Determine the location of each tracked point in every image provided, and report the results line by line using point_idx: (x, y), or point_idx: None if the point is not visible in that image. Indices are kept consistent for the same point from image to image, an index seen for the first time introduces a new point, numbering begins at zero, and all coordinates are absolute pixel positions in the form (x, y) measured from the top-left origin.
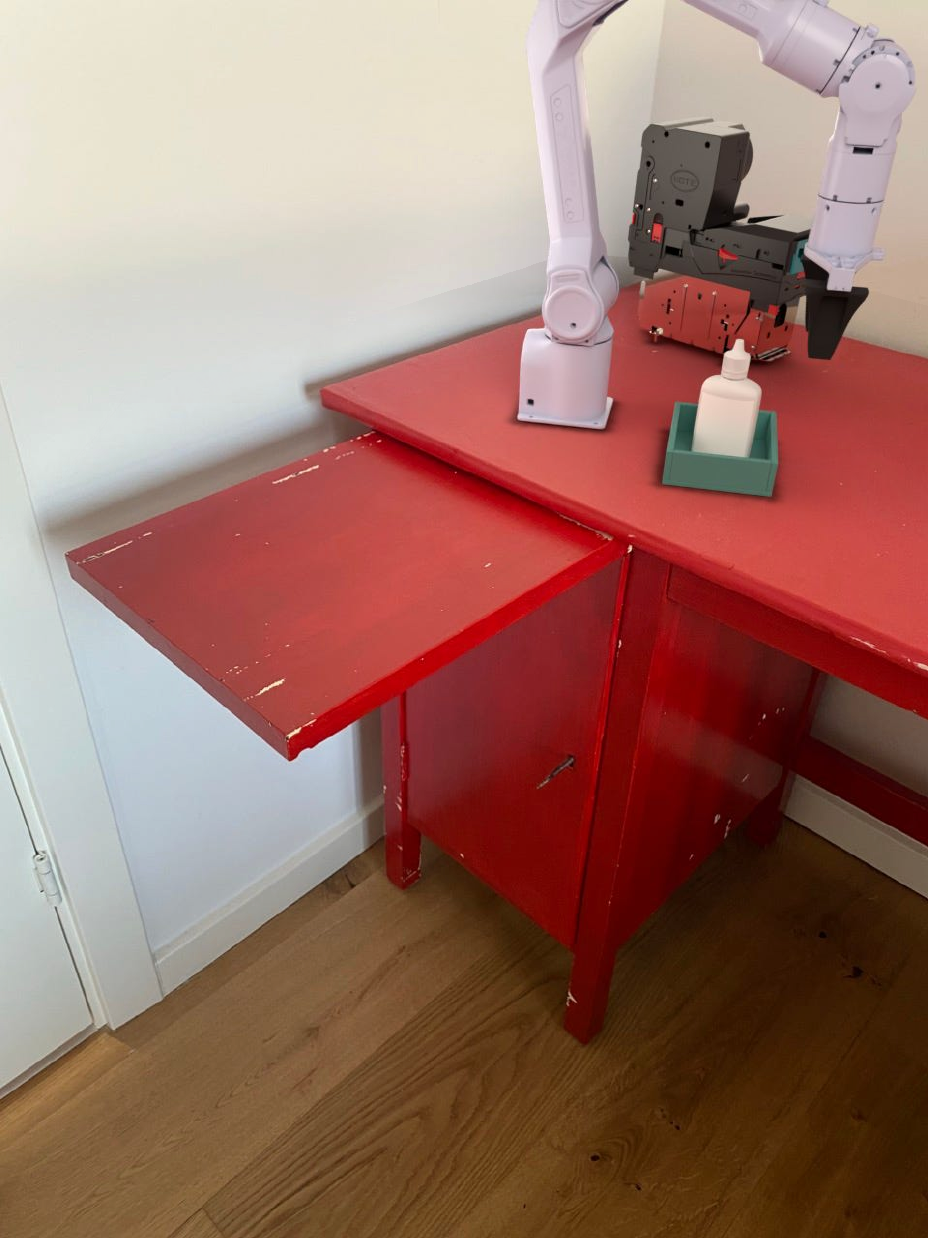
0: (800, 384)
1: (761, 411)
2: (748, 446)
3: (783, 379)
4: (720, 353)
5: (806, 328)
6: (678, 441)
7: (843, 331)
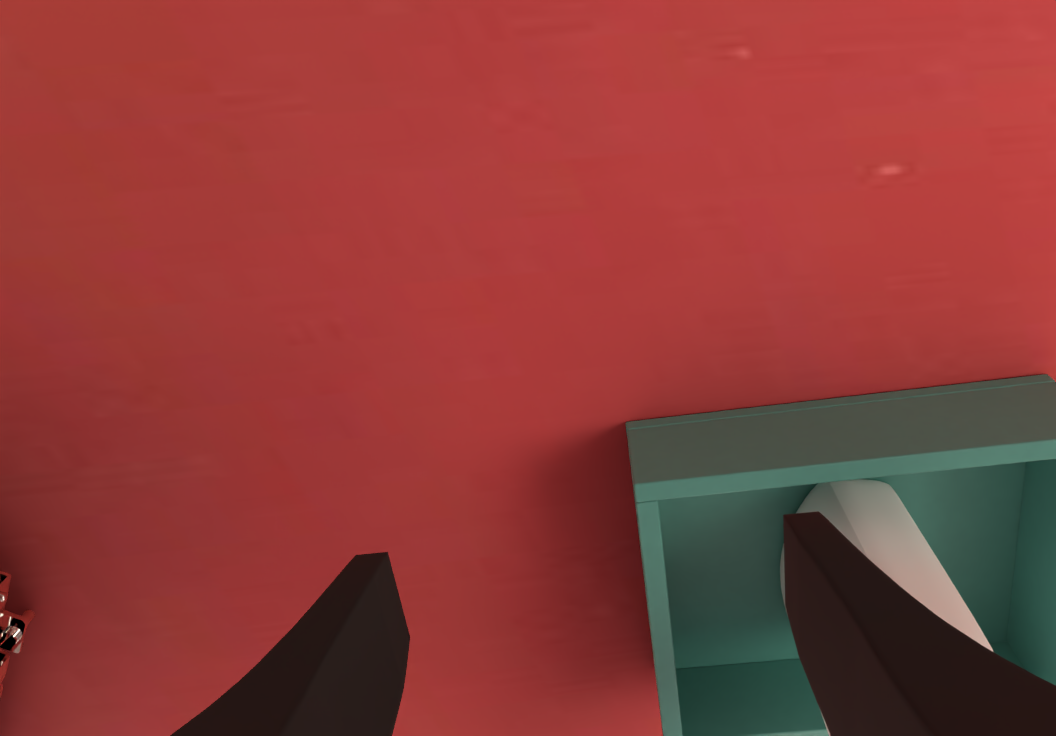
0: (43, 383)
1: (653, 529)
2: (911, 519)
3: (34, 440)
4: (8, 659)
5: (405, 648)
6: (745, 654)
7: (917, 600)
